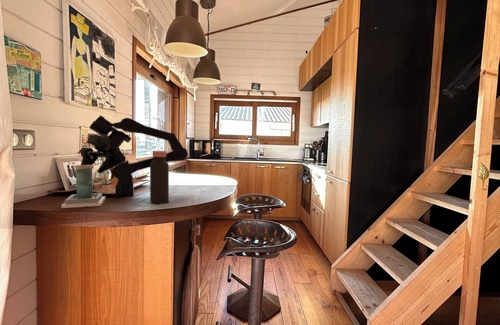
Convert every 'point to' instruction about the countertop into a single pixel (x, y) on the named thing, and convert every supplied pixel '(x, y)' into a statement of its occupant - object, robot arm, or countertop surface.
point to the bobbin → (84, 181)
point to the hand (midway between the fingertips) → (89, 171)
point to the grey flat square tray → (83, 201)
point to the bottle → (159, 178)
